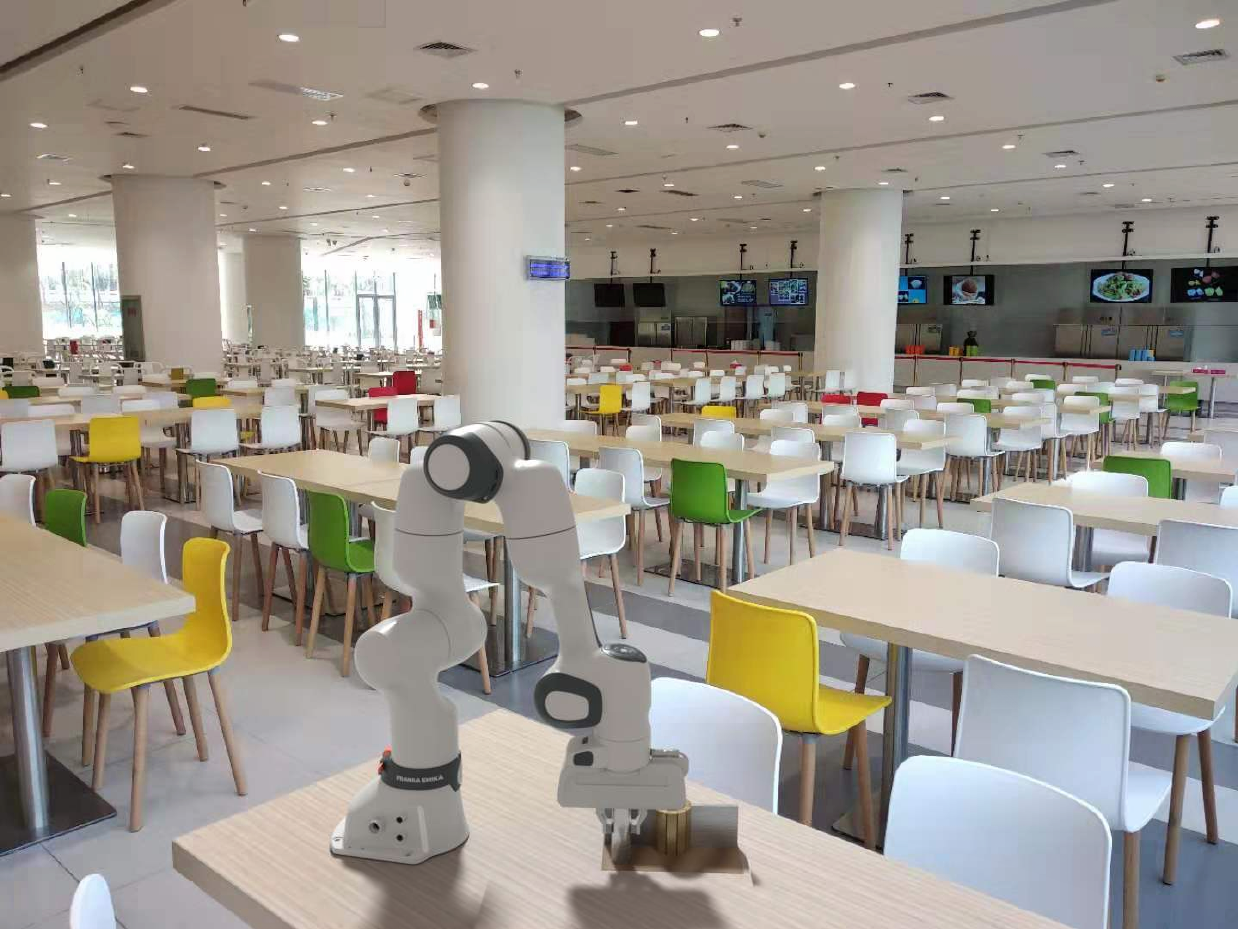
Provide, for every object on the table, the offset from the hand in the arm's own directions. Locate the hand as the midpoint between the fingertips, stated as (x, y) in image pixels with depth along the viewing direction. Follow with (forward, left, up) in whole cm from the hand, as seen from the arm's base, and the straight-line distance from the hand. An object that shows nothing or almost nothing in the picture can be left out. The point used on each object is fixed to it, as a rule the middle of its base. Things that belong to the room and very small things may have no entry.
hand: (621, 832), depth 150 cm
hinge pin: (0, 0, -5) cm, 5 cm away
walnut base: (+8, +3, -6) cm, 10 cm away
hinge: (+8, +5, -5) cm, 10 cm away
